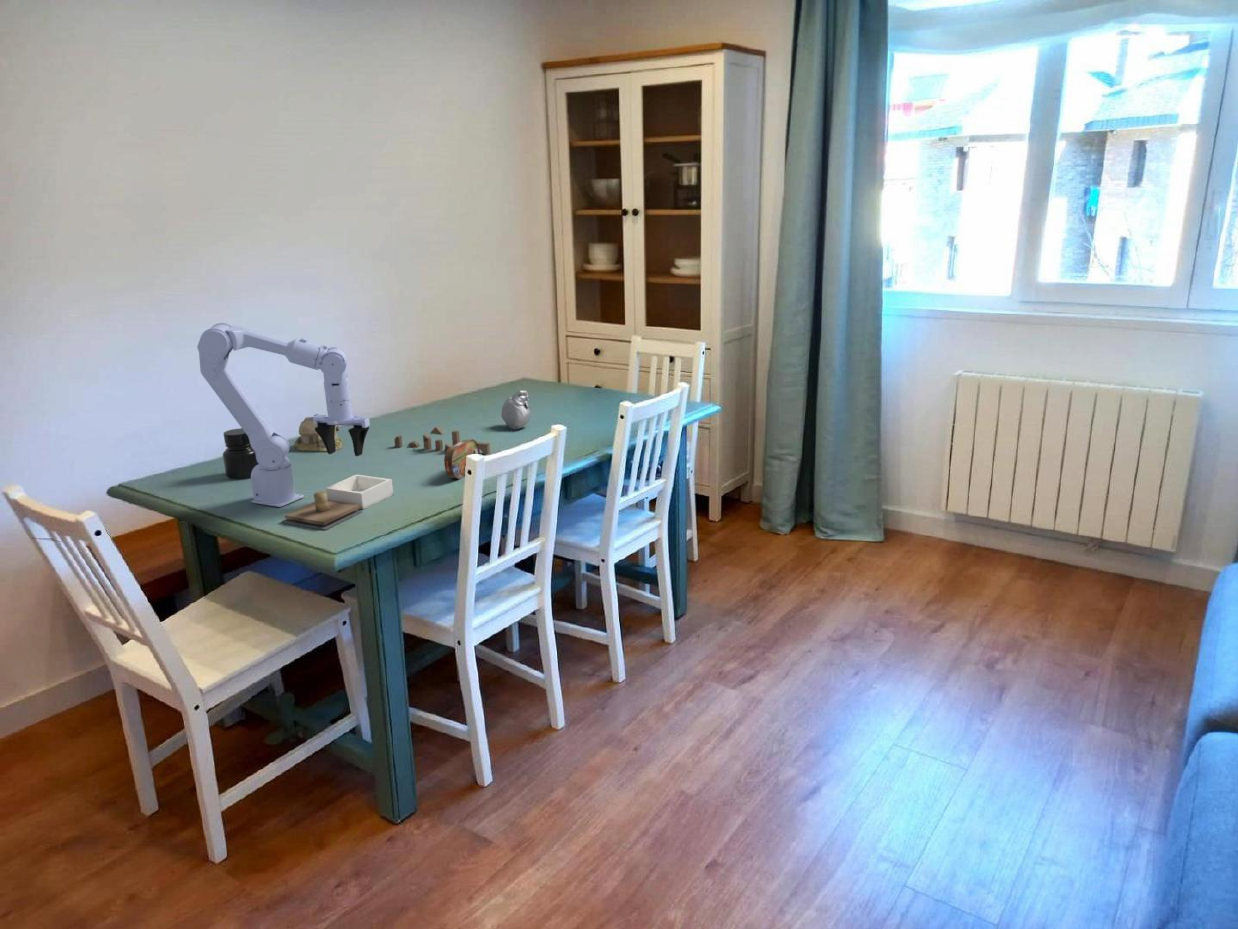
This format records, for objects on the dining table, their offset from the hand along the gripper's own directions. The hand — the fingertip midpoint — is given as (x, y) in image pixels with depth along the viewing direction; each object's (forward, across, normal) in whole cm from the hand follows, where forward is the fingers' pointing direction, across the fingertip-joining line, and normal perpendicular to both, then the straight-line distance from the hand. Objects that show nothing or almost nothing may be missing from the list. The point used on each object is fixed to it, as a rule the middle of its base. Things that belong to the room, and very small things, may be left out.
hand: (345, 454), depth 210 cm
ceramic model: (+11, -34, +35) cm, 49 cm away
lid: (+10, +3, -15) cm, 18 cm away
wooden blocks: (+11, +4, +40) cm, 42 cm away
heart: (+11, +15, +68) cm, 70 cm away
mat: (+10, +3, -16) cm, 19 cm away
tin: (+11, +20, +22) cm, 31 cm away
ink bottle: (+11, -37, +7) cm, 39 cm away
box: (+10, +5, -3) cm, 12 cm away
